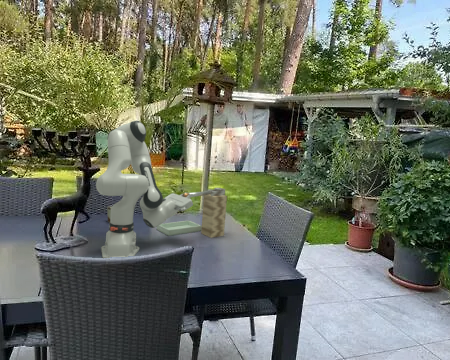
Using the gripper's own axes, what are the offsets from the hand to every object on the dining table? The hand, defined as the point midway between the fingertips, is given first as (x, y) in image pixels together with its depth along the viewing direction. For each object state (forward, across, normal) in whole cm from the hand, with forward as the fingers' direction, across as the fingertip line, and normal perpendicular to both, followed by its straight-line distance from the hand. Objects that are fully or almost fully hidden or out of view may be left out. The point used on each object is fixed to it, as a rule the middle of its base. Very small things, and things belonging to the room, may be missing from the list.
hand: (189, 194), depth 210 cm
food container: (-33, +48, +12) cm, 59 cm away
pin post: (+4, 0, +33) cm, 33 cm away
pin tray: (-8, +16, +26) cm, 32 cm away
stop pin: (+4, 0, +4) cm, 6 cm away
